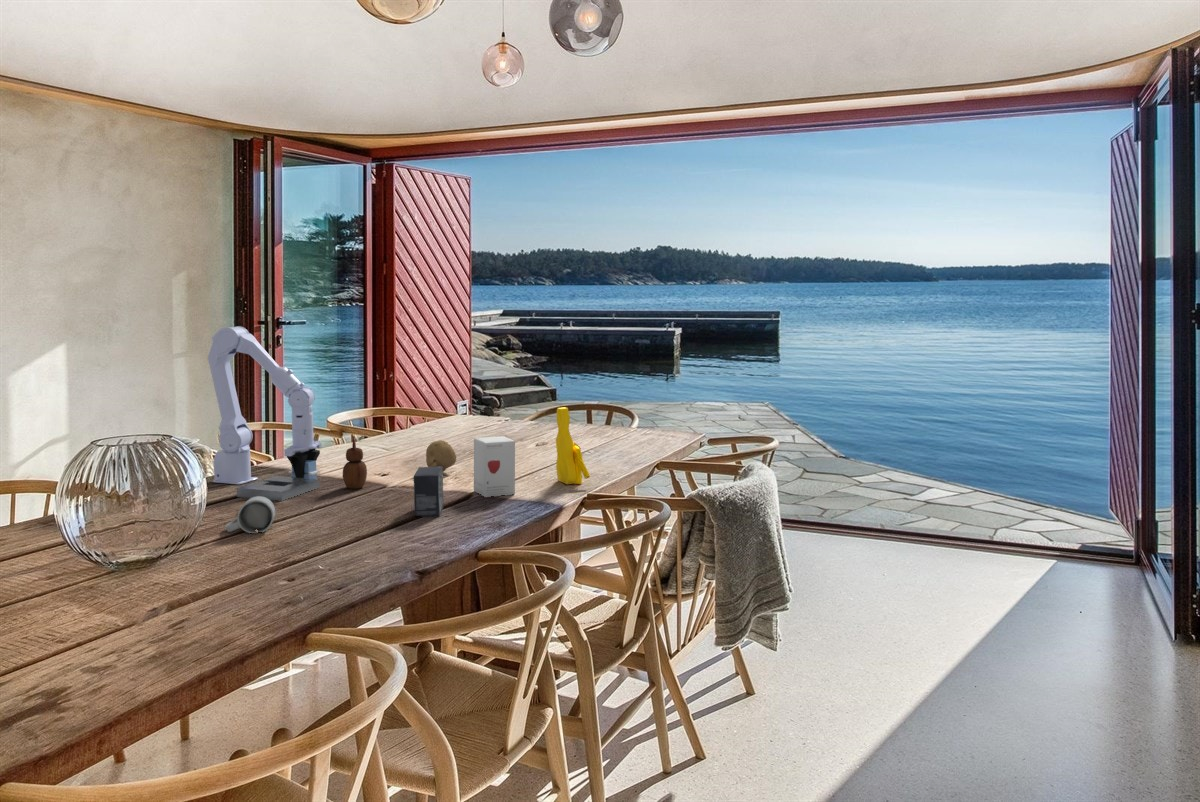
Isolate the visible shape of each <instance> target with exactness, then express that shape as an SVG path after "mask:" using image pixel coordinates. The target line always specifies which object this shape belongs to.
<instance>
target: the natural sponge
mask: <svg viewBox="0 0 1200 802" xmlns="http://www.w3.org/2000/svg"><path fill="white" fill-rule="evenodd" d="M425 458H426V459H425V461H426V465H427V466H426V467H443V473H444V472H445V471H446V470H447V469H448V468H450V467H452V466H454V465H455V464H456V462H457V455H456V452H455V450H454V449H453V447H452V445H451V444H450V443H448V442H447V441H445V440H442V439H440V440H436V441H435V440H434V441H432V442H431V443H430V444H428V446H427V447H426V451H425Z"/></svg>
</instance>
